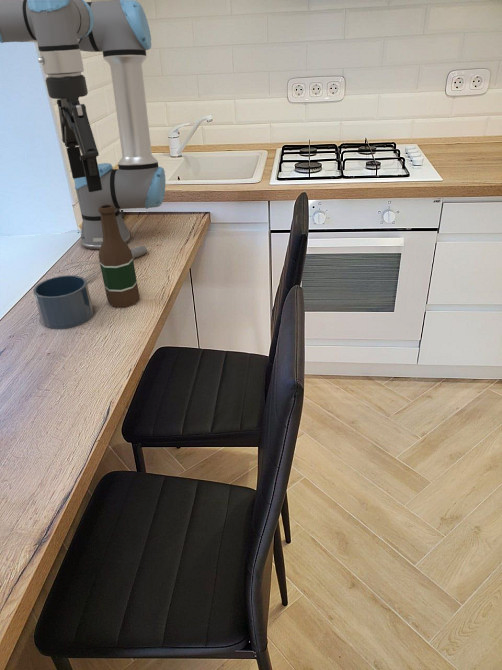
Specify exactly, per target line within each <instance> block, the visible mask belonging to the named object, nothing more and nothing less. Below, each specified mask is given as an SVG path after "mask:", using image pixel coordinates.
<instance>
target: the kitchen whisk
mask: <svg viewBox="0 0 502 670" xmlns="http://www.w3.org/2000/svg"><path fill="white" fill-rule="evenodd" d="M147 246H148V247H147ZM150 248H151V246H150V245H149V244H144V245H139V246H137V247H133V248H130V250H131V253H132V257H133V259H136V258H139V257H141V256H144V255H145V254H147V253H148V251H149V250H150ZM85 262H86V263H85ZM77 263H78V264H77ZM79 263H80V261H76V262H72V263H67V264H64V265H62V266H61V267H59V268H58V269H57V270H56V271H55V272H54V274H53V275H52V277H51V278H54V277H56V274H58V273H59V272H60V273H59V274H58V276H61V274H62V273H64V272H65V271H68V270H69V269H72V268H77V267H82V266H84V265H85V266H87V265H90V264H91V265H95V264H97V262H96V261H90V260H85V261H81V263H80V264H79ZM83 263H84V264H83ZM72 264H76V265H73V266H70V267H67V268H65V269H64V268H63V267H65V266H68V265H72ZM62 268H63V269H62ZM97 268H100V269H99V270H97V271H95V272H94V273H92V274H90V275H89V276H87V277H84V279H86V281H87V283H89V282H90V281H92V280H93V279H94V278H96V277H98V275H99V274H100V273H102V271H101V267H100V265H97V266H96V267H92V268H89V269H86V270H83V271H81V272H78V273H76V274H74V276H80V275H82V274H84V273H87V272H88V271H92V270H95V269H97ZM60 269H62V270H60Z"/></svg>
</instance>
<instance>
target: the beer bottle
mask: <svg viewBox="0 0 502 670" xmlns="http://www.w3.org/2000/svg"><path fill="white" fill-rule="evenodd" d="M114 211H115V208H114V206H112V205H103V206H101V207H99V210H98V212H99V213H100V216H101V224H102V231H103V243H102V245H101V247H100V250H98V263H99V266H100V267H99V268H100V269H101V270H100V272H101V271H102V272H101V277H102V280H103V285H104V290H105V295H106V299H107V302H108V303H109V305H111V306H112V307H113V308H120V309H121V308H123V309H125V308H127V307H131V306H133V305H136V303H137V302H138V301H139V300H140V293H139V291H140V290H139V286H138V280H137V279H138V278H137V275H136V274H137V273H136V268H135V263H134V262H135V261H134V258H133V257H132V253H131V248H130V246H129V245H128V243H125V242H124V241H123V240H122V238H121V235H120V232H119V228H118V224H117V220H116V216H115V212H114Z"/></svg>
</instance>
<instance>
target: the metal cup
mask: <svg viewBox="0 0 502 670" xmlns="http://www.w3.org/2000/svg"><path fill="white" fill-rule="evenodd" d="M88 285H89V284H88V280H87V278H86V279H85V277H83V276H80V275H76V276H75V274H68V275H57V276H55V277H54V276H53V278H52V277H50V278H47V279H45V280H42V281H41V282H39V283H38V284H37V285H36V284H35V286H34V288H33V291H32V292H33V296H34V300H35V303H36V306H37V311H38V315H39V317H40V320H41V323H42V324H43V326H45V327H46V328H49V329H55V330H62V329H63V330H64V329H69V328H74V327H78V326H80V325H82V324H84V323H86V322H87V321H89V320H90V319H91V318H92V316H93V315H94V307H93V304H92V299H91V294H90V289H89V286H88Z"/></svg>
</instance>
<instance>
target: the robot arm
mask: <svg viewBox="0 0 502 670" xmlns="http://www.w3.org/2000/svg"><path fill="white" fill-rule="evenodd" d="M149 25H150V24H149V21H148V19H147V15H146V13H145V10H144V8H143V6H142V5H141V3H140V2H139V1H137V0H99V1H98V0H97V1H85V0H0V44H4V43H37V48H38V52H39V57H38V58H37V63H39V64H41V65H42V70H43V73H44V74H45V75H46V76H47V77H46V78H45V85H46V90H47V93H48V97H50V99H52V100H56V104H57V108H58V114H59V115H58V116H59V122H60V131H61V141H62V143H63V144H64V146H65V149H66V155H67V159H68V162H69V163H68V164H69V167H70V172H71V176H72V179H73V181H74V190H75V193H76V196H77V202H78V206H79V210H80V215H81V219H82V222H81V223H82V224H81V230H80V231H81V232H80V244H81V246H82V247H83V248H85V249H88V250H93V251H94V250H95V251H96V250H97V251H99V250H100V247H101V245H102V243H103V231H102V224H101V216H100V213H99V212H98V210H99V207H101V206H103V205H112V206H114V208H115V211H114V212H115V216H116V220H117V224H118V228H119V232H120V235H121V238H122V240H123V241H124V242H125V243H126V244H128V243H129V242H130V240H131V233H130V230H129V228H128V227H127V224H126V223H125V221H124V218H125V213H124V210H125V209H126V210H127V209H128V210H129V209H146V210H147V209H150V208H151V209H152V208H158V207H160V206H161V205H162V204H163V203H164V199H165V194H166V184H167V183H166V179H167V178H166V171H165V169H164V167H162V166H159V160H158V159H157V158H155V157H154V155H153V152H152V145H151V144H152V143H151V136H150V135H151V134H150V125H149V117H148V116H149V115H148V108H147V99H146V91H145V82H144V81H145V80H144V72H143V63H144V62H145V60H146V59H147V51H149V50H150V49H151V48H152V36H151V35H152V34H151V30H150V26H149ZM81 52H88V53H89V52H90V53H99V52H101V53H102V56H103V60H104V61H105V62H106V63H107V64H108V65H109V67H110V75H111V80H112V81H111V82H112V90H113V97H114V105H115V110H116V118H117V126H118V134H119V135H118V136H119V141H120V149H121V155H122V156H121V158H120V160H119V161H118V162H117V166H118V168H114V166H113V165H112V164H111V163H107V162H102V163H98V159H97V158H98V157H99V155H100V153H99V151H98V147H97V143H96V140H95V137H94V134H93V130H92V127H91V124H90V121H89V117H88V112H87V106H86V105H85V103H81V102H80V100H79V99H80V98H83V97H86V96H88V93H89V92H88V86H87V81H86V77H85V75H84V74H82V73H83V72H84V71H85V68H84V63H83V58H82V53H81ZM121 209H123V210H121ZM120 210H121V211H120Z"/></svg>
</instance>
